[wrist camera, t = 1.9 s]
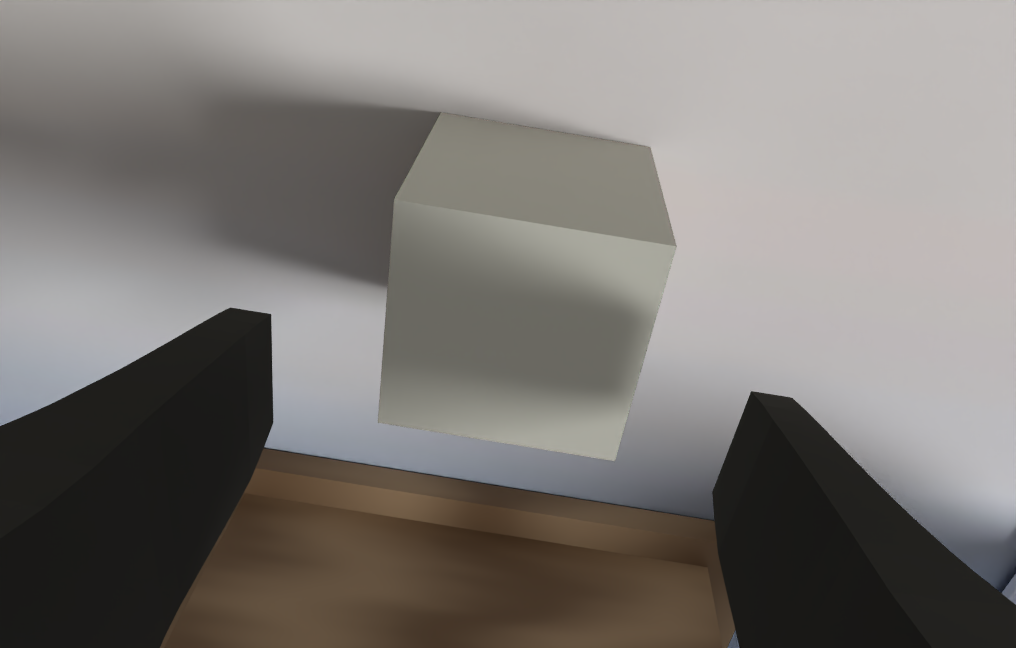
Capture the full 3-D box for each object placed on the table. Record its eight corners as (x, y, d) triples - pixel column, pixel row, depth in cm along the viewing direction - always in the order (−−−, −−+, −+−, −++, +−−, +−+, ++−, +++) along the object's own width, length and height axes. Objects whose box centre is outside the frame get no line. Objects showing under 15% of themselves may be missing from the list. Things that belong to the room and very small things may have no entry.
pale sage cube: (650, 146, 16) (676, 246, 12) (605, 324, 19) (615, 461, 14) (441, 111, 16) (393, 198, 12) (423, 294, 19) (378, 422, 14)
